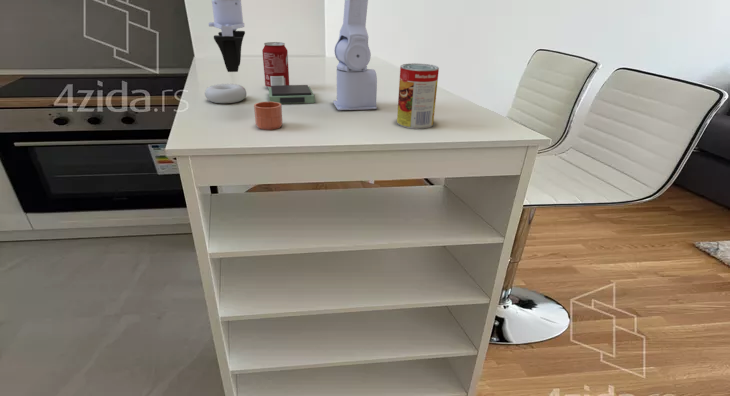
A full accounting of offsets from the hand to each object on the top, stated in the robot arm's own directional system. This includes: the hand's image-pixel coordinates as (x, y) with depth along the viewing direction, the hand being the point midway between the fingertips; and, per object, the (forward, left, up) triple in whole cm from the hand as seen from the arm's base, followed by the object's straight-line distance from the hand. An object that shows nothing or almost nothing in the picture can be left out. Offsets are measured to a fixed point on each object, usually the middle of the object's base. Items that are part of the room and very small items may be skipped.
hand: (234, 68), depth 92 cm
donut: (+3, -12, -10) cm, 16 cm away
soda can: (-10, -25, -10) cm, 29 cm away
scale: (-13, -12, -10) cm, 20 cm away
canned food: (-38, +14, -10) cm, 41 cm away
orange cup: (-7, +12, -10) cm, 17 cm away
